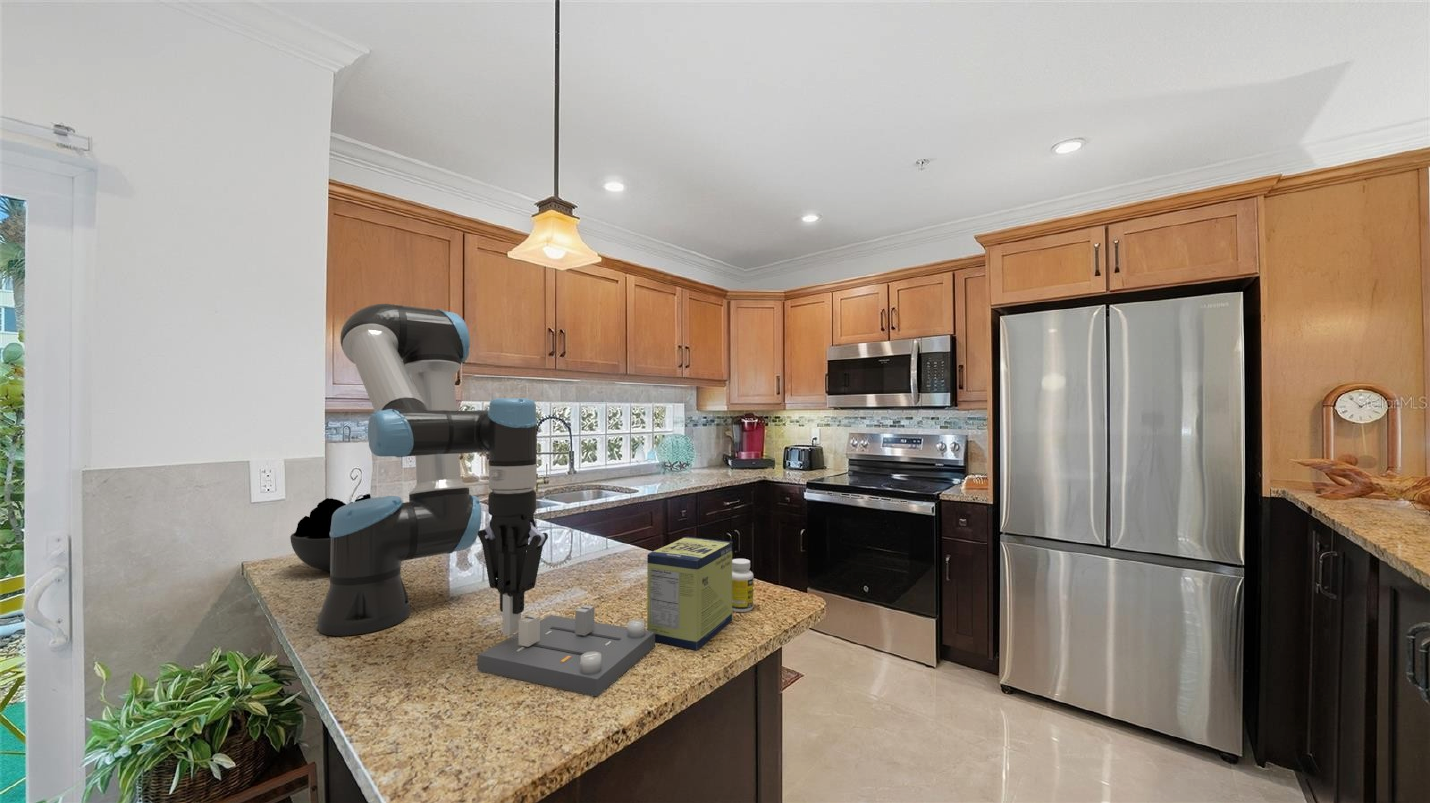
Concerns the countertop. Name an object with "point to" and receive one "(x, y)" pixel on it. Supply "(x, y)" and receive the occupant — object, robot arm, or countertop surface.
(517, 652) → the console
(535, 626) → the fader cream
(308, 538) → the coal bowl
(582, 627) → the fader grey
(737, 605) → the supplement bottle
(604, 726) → the countertop surface
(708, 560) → the protein box
